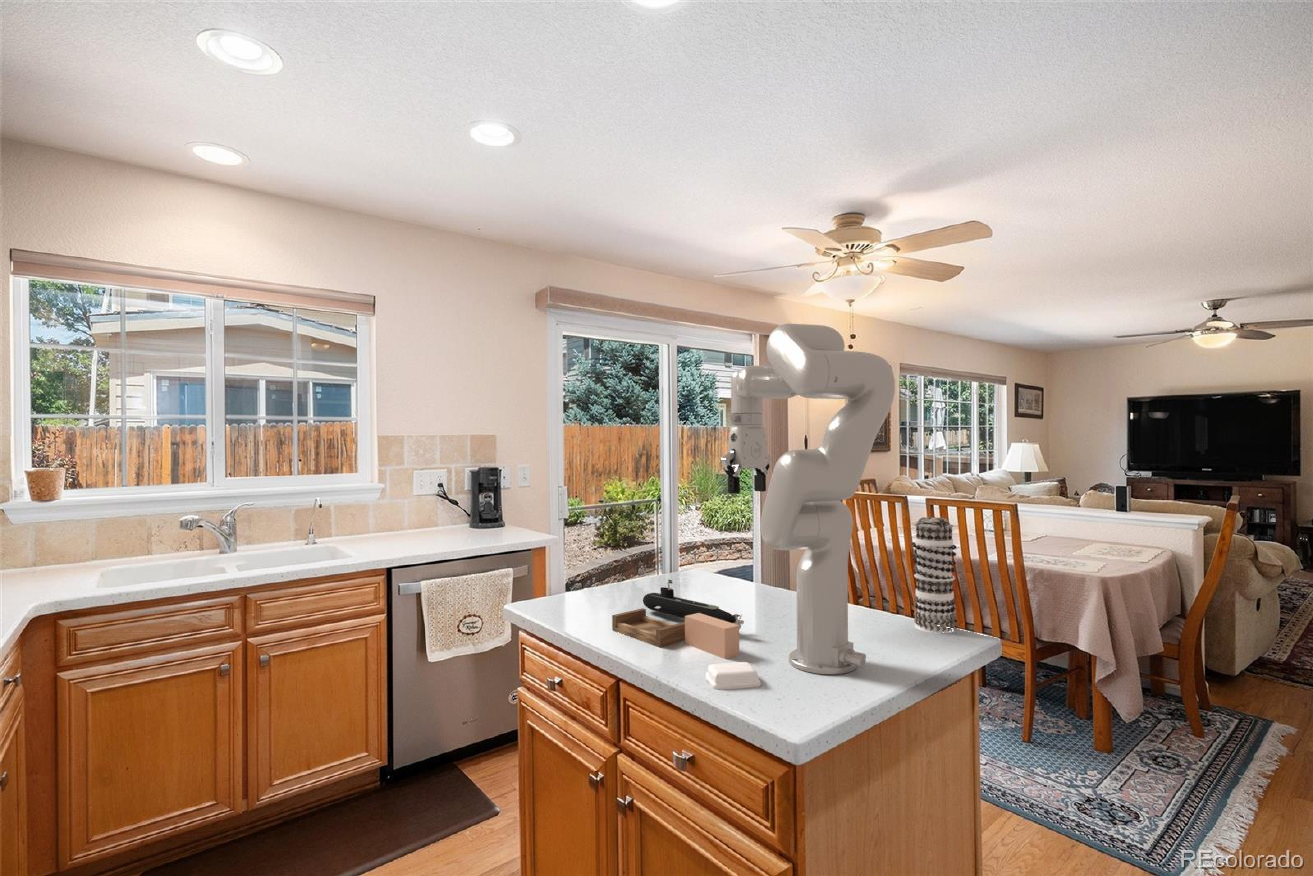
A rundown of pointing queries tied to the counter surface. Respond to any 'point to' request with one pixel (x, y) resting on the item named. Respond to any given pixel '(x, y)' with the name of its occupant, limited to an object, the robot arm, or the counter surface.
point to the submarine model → (685, 606)
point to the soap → (732, 676)
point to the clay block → (712, 635)
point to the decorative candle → (934, 575)
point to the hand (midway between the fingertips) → (747, 492)
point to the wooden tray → (648, 628)
